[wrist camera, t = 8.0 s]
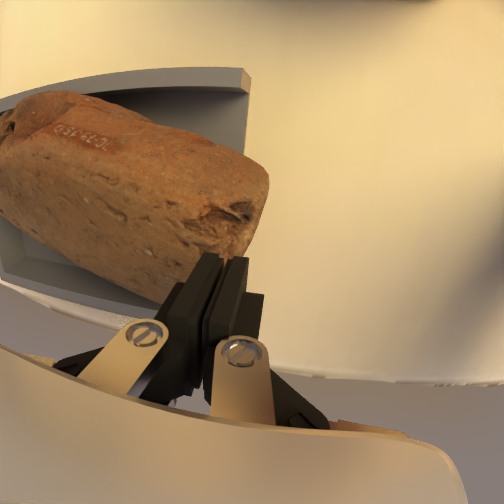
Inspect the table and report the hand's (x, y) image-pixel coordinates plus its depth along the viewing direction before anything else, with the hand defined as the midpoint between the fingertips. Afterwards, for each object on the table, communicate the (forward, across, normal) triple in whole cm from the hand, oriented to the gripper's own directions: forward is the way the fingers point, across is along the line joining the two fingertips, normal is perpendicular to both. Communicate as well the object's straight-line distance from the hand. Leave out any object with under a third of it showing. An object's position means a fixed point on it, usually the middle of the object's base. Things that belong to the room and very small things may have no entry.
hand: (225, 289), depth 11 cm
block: (+7, 0, +2) cm, 7 cm away
